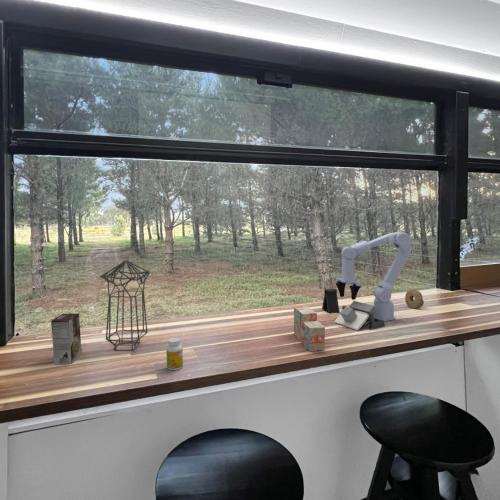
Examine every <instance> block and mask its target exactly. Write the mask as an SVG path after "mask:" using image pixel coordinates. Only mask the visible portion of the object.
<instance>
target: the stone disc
mask: <svg viewBox="0 0 500 500" xmlns="http://www.w3.org/2000/svg"><path fill="white" fill-rule="evenodd" d="M404 298H405V299H404V301H405V304H406V305H407V306H408V307H409V308H411V309H420V308H422V307H423V305H424V303H425V302H424V299H423V294H422V293H421V292H420V290H417V289H409V290H408V291H407V292H406V294H405V297H404Z"/></svg>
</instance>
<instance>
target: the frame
mask: <svg viewBox="0 0 500 500" xmlns="http://www.w3.org/2000/svg"><path fill="white" fill-rule="evenodd" d="M345 307H348V306H347V305H342V308H341V309H342V310H343V309H344V308H345ZM342 310H341V311H342ZM354 311H356V310H354ZM356 312H359V313H363V314H366V315H369V318H368V319H367V320H366V321H365V322H367V323H368V324H369V325H368V328H369V329H370V330H374V329H375V330H376V329H378V328H382V327H385V323H386V321H384V320H380V319H377V318H374V314H373V313H371V314H367V313H364V312H360V311H356Z"/></svg>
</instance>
